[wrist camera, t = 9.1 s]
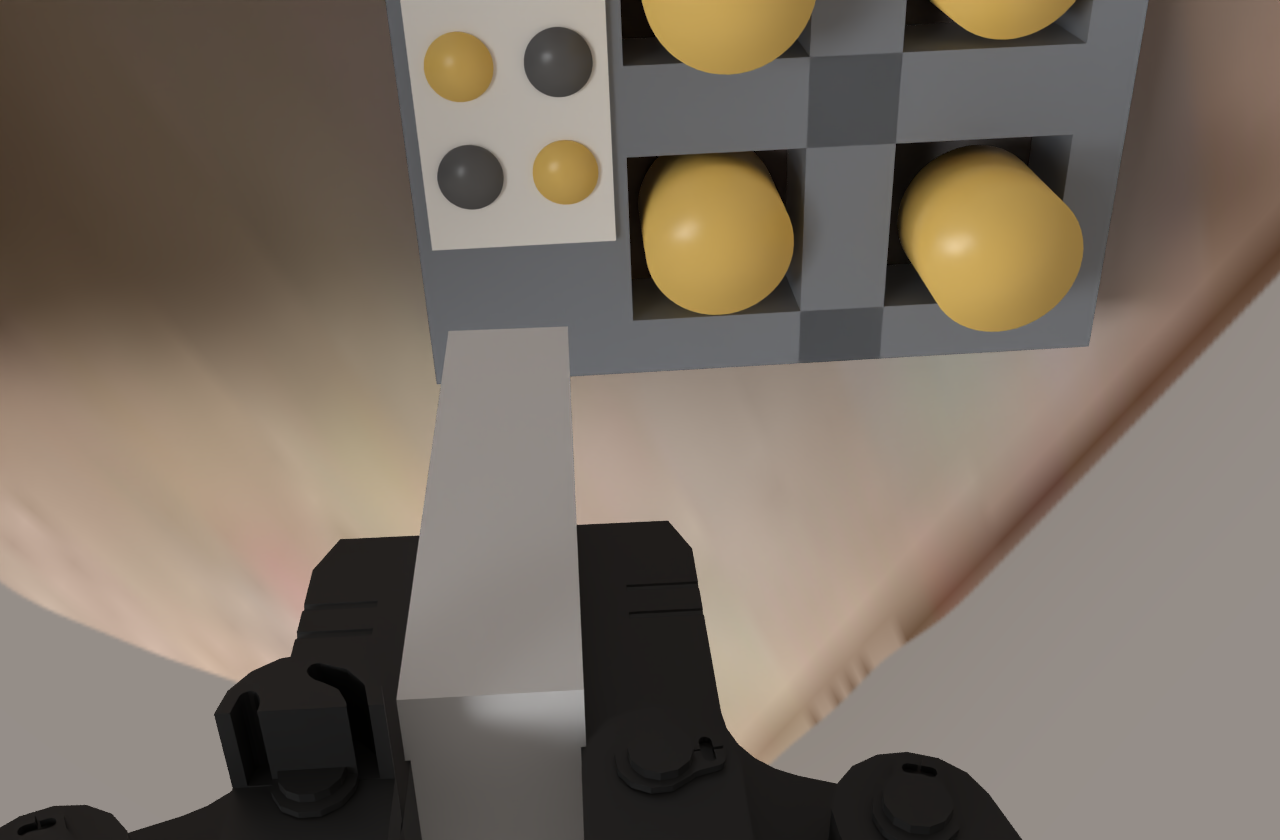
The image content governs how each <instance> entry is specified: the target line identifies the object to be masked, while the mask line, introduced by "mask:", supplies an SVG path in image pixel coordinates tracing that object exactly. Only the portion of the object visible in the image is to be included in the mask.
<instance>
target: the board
mask: <svg viewBox="0 0 1280 840" xmlns="http://www.w3.org/2000/svg"><path fill="white" fill-rule="evenodd" d="M385 1H386V8H387V16H388V23H389V31H390V38H391V46H392V53H393V61H394V68H395V76H396V83H397V90H398V98H399V105H400V113H401V120H402V128H403V135H404V143H405V150H406V158H407V165H408V172H409V180H410V187H411V195H412V202H413V210H414V217H415V225H416V232H417V240H418V247H419V254H420V262H421V269H422V277H423V284H424V292H425V299H426V307H427V314H428V322H429V329H430V336H431V344H432V351H433V359H434V366H435V374H436V381H437V384H441V381H442V374H443V367H444V360H445V353H446V346H447V339H448V331H463V330H489V329H515V328H541V327H567V326H568V343H569V366H570V376H586V375H604V374H621V373H638V372H655V371H673V370H690V369H707V368H724V367H741V366H759V365H776V364H793V363H810V362H828V361H845V360H862V359H879V358H896V357H914V356H931V355H948V354H965V353H982V352H1000V351H1017V350H1034V349H1051V348H1069V347H1086V346H1089V342H1090V336H1091V330H1092V325H1093V319H1094V313H1095V307H1096V302H1097V296H1098V290H1099V284H1100V278H1101V273H1102V267H1103V261H1104V255H1105V249H1106V244H1107V238H1108V232H1109V226H1110V221H1111V215H1112V209H1113V203H1114V197H1115V192H1116V186H1117V180H1118V174H1119V168H1120V163H1121V157H1122V151H1123V145H1124V140H1125V134H1126V128H1127V122H1128V116H1129V111H1130V105H1131V99H1132V93H1133V87H1134V82H1135V76H1136V70H1137V64H1138V59H1139V53H1140V47H1141V41H1142V35H1143V30H1144V24H1145V18H1146V12H1147V6H1148V1H1149V0H1076V1H1075V2H1074V3H1073V5H1072V6H1071V7H1070V8H1069V9H1068V10H1067V11H1066V12H1065V13H1064V14H1063V15H1062V16H1060V17H1059V18H1058V19H1057V20H1056V21H1054V22H1053V23H1051V24H1050V25H1048V26H1047V27H1045V28H1043V29H1041V30H1039V31H1037V32H1035V33H1032V34H1030V35H1027V36H1023V37H1019V38H1014V39H1006V40H1005V39H990V38H985V37H981V36H978V35H975V34H973V33H971V32H969V31H967V30H966V29H964V28H963V27H961V26H960V25H958V24H957V23H938V24H918V25H905V16H906V3H907V0H816V1H815V5H814V8H813V11H812V14H811V16H810V18H809V20H808V22H807V24H806V26H805V28H804V30H803V31H802V33H801V34H800V36H799V37H798V38H797V39H796V41H795V42H794V43H793V44H792V45H791V46H790V47H789V48H788V49H787V50H786V51H785V52H784V53H783V54H782V55H780V56H779V57H777V58H776V59H775V60H773V61H772V62H770V63H768V64H766V65H764V66H762V67H760V68H757V69H755V70H752V71H748V72H744V73H739V74H730V75H726V74H713V73H707V72H704V71H700V70H697V69H695V68H692V67H690V66H688V65H686V64H684V63H683V62H681V61H680V60H678V59H677V58H675V57H674V56H673V55H672V54H671V53H669V52H668V51H667V50H666V48H665V47H664V46H663V45H662V44H661V43H660V41H659V40H658V39H657V37H648V38H628V39H622V30H621V5H620V0H385ZM1013 137H1032V142H1031V150H1030V157H1029V165H1028V167H1029V168H1030V169H1031V170H1032V171H1033V172H1034V173H1035V174H1036V175H1037V176H1038V177H1039V178H1040V179H1041V180H1042V181H1043V182H1044V183H1045V184H1046V185H1047V186H1048V187H1049V188H1050V189H1051V190H1052V191H1053V192H1054V193H1055V194H1056V195H1057V196H1058V197H1059V198H1060V199H1061V200H1062V201H1063V202H1064V203H1065V204H1066V205H1067V206H1068V207H1069V208H1070V210H1071V211H1072V212H1073V213H1074V215H1075V217H1076V219H1077V220H1078V222H1079V225H1080V228H1081V231H1082V236H1083V258H1082V262H1081V267H1080V270H1079V272H1078V275H1077V277H1076V279H1075V281H1074V283H1073V285H1072V287H1071V288H1070V289H1069V291H1068V292H1067V294H1066V295H1065V296H1064V297H1063V299H1062V300H1061V301H1060V302H1059V303H1058V304H1057V305H1056V306H1055V307H1054V308H1053V309H1051V310H1050V311H1049V312H1048V313H1046V314H1045V315H1043V316H1042V317H1040V318H1039V319H1037V320H1035V321H1033V322H1031V323H1029V324H1027V325H1024V326H1022V327H1019V328H1016V329H1011V330H1007V331H999V332H986V331H978V330H974V329H970V328H967V327H965V326H962V325H960V324H958V323H957V322H955V321H953V320H952V319H951V318H950V317H948V316H947V315H946V314H945V313H944V312H943V311H942V310H941V308H940V307H939V305H938V304H937V302H936V301H935V299H934V298H933V296H932V295H931V293H930V291H929V290H928V288H927V287H926V285H925V283H924V282H923V280H922V279H921V277H920V276H919V274H918V272H917V271H916V269H915V268H914V266H913V264H896V265H887V254H888V241H889V228H890V215H891V201H892V188H893V175H894V162H895V148H896V144H897V143H916V142H935V141H955V140H974V139H993V138H1013ZM781 149H788V157H787V191H786V211H787V213H788V215H789V218H790V221H791V224H792V228H793V234H794V248H793V255H792V259H791V262H790V265H789V267H788V270H787V272H786V274H785V275H784V277H783V279H782V280H781V282H780V283H779V284H778V286H777V287H776V288H775V289H774V290H773V291H772V292H771V293H770V294H769V295H768V296H767V297H765V298H764V299H763V300H761V301H760V302H758V303H757V304H755V305H753V306H751V307H749V308H747V309H744V310H741V311H739V312H734V313H730V314H722V315H708V314H701V313H697V312H693V311H690V310H687V309H685V308H683V307H681V306H679V305H677V304H675V303H674V302H673V301H671V300H670V299H669V298H668V297H667V296H665V295H664V294H663V293H662V292H661V290H660V289H659V288H658V286H657V285H656V283H655V282H654V280H653V278H644V279H631V257H630V232H629V207H628V181H627V157H646V156H665V155H684V154H704V153H723V152H742V151H762V150H781Z"/></svg>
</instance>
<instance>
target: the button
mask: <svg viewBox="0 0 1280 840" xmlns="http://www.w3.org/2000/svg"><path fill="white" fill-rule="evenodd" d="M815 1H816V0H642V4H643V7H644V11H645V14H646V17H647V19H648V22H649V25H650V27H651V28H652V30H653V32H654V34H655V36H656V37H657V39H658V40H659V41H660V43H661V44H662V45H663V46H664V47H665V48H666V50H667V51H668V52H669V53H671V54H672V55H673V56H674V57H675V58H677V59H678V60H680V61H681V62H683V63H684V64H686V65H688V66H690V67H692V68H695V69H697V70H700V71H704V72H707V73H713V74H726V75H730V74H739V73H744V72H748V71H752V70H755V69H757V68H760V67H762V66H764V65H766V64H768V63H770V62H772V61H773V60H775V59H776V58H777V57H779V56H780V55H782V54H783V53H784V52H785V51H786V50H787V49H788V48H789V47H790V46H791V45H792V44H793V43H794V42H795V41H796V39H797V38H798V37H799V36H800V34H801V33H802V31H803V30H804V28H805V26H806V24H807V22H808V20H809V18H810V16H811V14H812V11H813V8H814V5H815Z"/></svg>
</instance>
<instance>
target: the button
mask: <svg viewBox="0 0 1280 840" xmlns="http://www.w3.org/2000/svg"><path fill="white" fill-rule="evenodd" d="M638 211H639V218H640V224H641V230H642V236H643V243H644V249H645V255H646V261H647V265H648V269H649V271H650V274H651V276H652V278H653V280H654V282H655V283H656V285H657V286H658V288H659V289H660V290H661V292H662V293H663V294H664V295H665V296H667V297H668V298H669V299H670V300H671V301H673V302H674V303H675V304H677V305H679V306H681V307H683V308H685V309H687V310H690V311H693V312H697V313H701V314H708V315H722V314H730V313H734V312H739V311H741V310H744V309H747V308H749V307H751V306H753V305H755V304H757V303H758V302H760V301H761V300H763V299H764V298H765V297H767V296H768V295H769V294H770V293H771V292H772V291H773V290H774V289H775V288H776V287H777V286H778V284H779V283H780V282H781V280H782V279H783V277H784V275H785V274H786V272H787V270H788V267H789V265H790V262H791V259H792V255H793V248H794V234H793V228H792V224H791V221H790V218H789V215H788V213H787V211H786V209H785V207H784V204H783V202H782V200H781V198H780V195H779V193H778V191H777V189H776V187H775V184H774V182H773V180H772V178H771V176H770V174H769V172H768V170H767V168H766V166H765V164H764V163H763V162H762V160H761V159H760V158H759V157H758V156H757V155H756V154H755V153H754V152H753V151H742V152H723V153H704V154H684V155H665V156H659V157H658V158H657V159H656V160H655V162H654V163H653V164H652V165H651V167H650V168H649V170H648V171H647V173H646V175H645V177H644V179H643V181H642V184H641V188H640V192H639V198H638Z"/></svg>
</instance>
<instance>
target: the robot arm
mask: <svg viewBox="0 0 1280 840" xmlns="http://www.w3.org/2000/svg"><path fill="white" fill-rule="evenodd" d="M214 716H215V720H216V723H217V727H218V732H219V736H220V739H221V743H222V747H223V751H224V755H225V759H226V763H227V767H228V771H229V775H230V779H231V783H232V787H233V789H232V791H231V792H230V793H228V794H226V795H225V796H223V797H221V798H220V799H218V800H216V801H215V802H213V803H212V804H210V805H208V806H206V807H204V808H201V809H199V810H196V811H194V812H191V813H189V814H186V815H184V816H181V817H178V818H175V819H172V820H169V821H165V822H162V823H159V824H155V825H152V826H149V827H146V828H143V829H140V830H136V831H133V832H130V833H128V832H127V830H126V829H125V828H124V827H123V826H122V825H121V824H120V823H119V821H118V820H117V819H116V818H115V817H114V816H113V815H112V814H111V813H108V812H105V811H102V810H99V809H96V808H93V807H90V806H88V805H71V806H52V807H49V808H46V809H43V810H39V811H36V812H33V813H29V814H27V815H23V816H19V817H18V818H16V819H14V820H13V821H11V822H9V823H7V824H6V825H4V826H2V827H0V840H1022V839H1021V838H1020V836H1019V835H1018V833H1017V832H1016V831H1015V829H1014V828H1013V827H1012V825H1011V824H1010V822H1009V821H1008V820H1007V818H1006V817H1005V816H1004V814H1003V813H1002V811H1001V810H1000V809H999V807H998V806H997V805H996V803H995V802H994V800H993V799H992V798H991V796H990V795H989V794H988V793H987V792H986V791H985V790H984V789H983V788H982V787H981V786H980V785H979V784H978V783H977V782H976V781H975V780H974V779H973V778H972V777H971V776H970V775H969V774H968V773H966V772H964V771H962V770H961V769H959V768H956V767H955V766H952V765H951V764H949V763H947V762H945V761H943V760H940V759H939V758H935V757H930V756H925V755H920V754H915V753H909V752H902V753H892V754H880V755H876V756H874V757H871V758H869V759H867V760H865V761H863V762H860V763H858V764H856V765H854V766H852V767H851V768H850V770H849V771H848V772H847V773H846V774H845V775H844V777H843V778H842V779H841V780H840V781H839V782H838V784H836V783H831V782H826V781H821V780H816V779H811V778H807V777H801V776H797V775H794V774H790V773H787V772H784V771H780V770H778V769H775V768H773V767H771V766H769V765H767V764H765V763H763V762H761V761H759V760H757V759H756V758H754V757H753V756H752V755H750V754H749V753H748V752H747V751H746V750H744V749H743V748H742V747H741V746H740V745H738V743H737V742H736V741H735V739H734V738H733V737H732V735H731V734H730V732H729V731H728V730H727V728H726V725H725V722H724V719H723V716H722V714H721V709H720V704H719V698H718V692H717V687H716V681H715V675H714V670H713V664H712V658H711V653H710V647H709V642H708V636H707V630H706V625H705V619H704V615H703V608H702V602H701V596H700V591H699V588H698V579H697V574H696V568H695V563H694V557H693V551H692V548H691V547H690V546H689V544H688V543H687V542H686V541H685V540H684V539H683V538H682V536H681V535H680V534H679V533H678V532H677V531H676V529H675V528H674V527H673V526H672V525H671V524H670V523H669V521H651V522H630V523H609V524H588V525H576V502H575V479H574V457H573V434H572V411H571V389H570V366H569V343H568V326H567V327H541V328H515V329H489V330H463V331H448V339H447V346H446V353H445V360H444V367H443V374H442V381H441V388H440V395H439V402H438V409H437V416H436V423H435V430H434V437H433V444H432V451H431V459H430V466H429V473H428V480H427V487H426V494H425V501H424V508H423V515H422V522H421V529H420V536H401V537H380V538H359V539H340V540H339V541H338V542H337V544H336V545H335V546H334V547H333V548H332V549H331V550H330V552H329V553H328V554H327V555H326V556H325V557H324V558H323V559H322V561H321V562H320V563H319V564H318V565H317V566H316V567H315V568H314V570H313V572H312V576H311V580H310V584H309V587H308V591H307V595H306V599H305V603H304V611H302V615H301V619H300V623H299V626H298V630H297V639H295V642H294V646H293V650H292V654H291V657H287V658H281V659H279V660H276V661H274V662H272V663H270V664H267V665H265V666H263V667H261V668H258V669H256V670H254V671H252V672H250V673H249V674H248V675H247V676H245V677H244V678H243V679H242V680H240V681H239V682H238V683H237V684H236V685H234V686H233V687H232V688H231V689H230V690H228V691H227V693H226V695H225V696H224V698H223V700H222V702H221V703H220V705H219V707H218V708H217V710H216V712H215V714H214Z"/></svg>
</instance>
